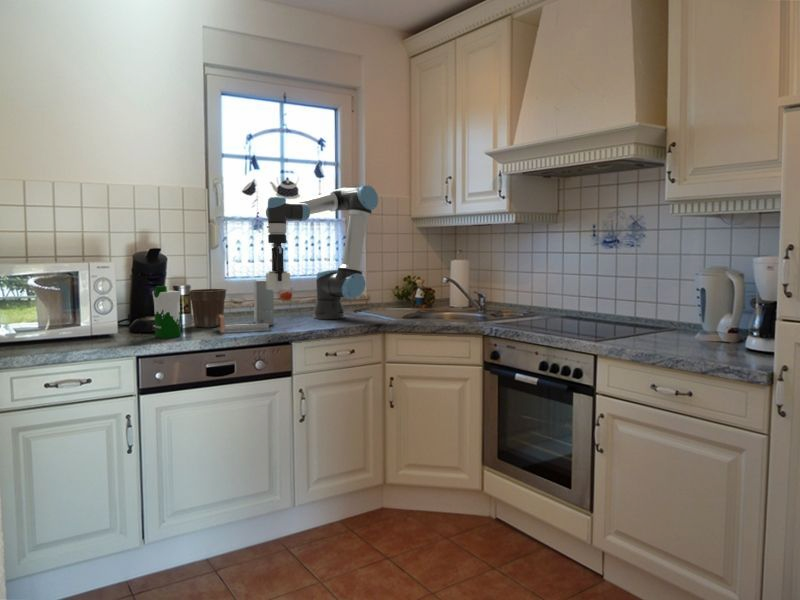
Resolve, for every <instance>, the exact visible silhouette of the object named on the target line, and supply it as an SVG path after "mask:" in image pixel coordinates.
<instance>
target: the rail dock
mask: <svg viewBox="0 0 800 600" xmlns="http://www.w3.org/2000/svg"><path fill="white" fill-rule="evenodd" d="M217 327H218V331H219V333H220V334H222V335H223V333H226V334H240V333H241V334H242V333H257V332H260V333H261V332H271V331H272V329H270V325H269V323H259V324H256V323H242V324H226V322H225V317H223V315H222V314H219V315H218V326H217Z"/></svg>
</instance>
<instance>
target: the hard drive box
mask: <svg viewBox="0 0 800 600" xmlns="http://www.w3.org/2000/svg"><path fill="white" fill-rule="evenodd" d="M274 306H275V304H274V290H268V289H266V278H265V279H253V307H254V309H253V310H254V311H253V312H254V314H253V317H254V324H259V323H269V326H274V325H275V323H274V322H275V315H274V314H275V309H274V308H275V307H274Z"/></svg>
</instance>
